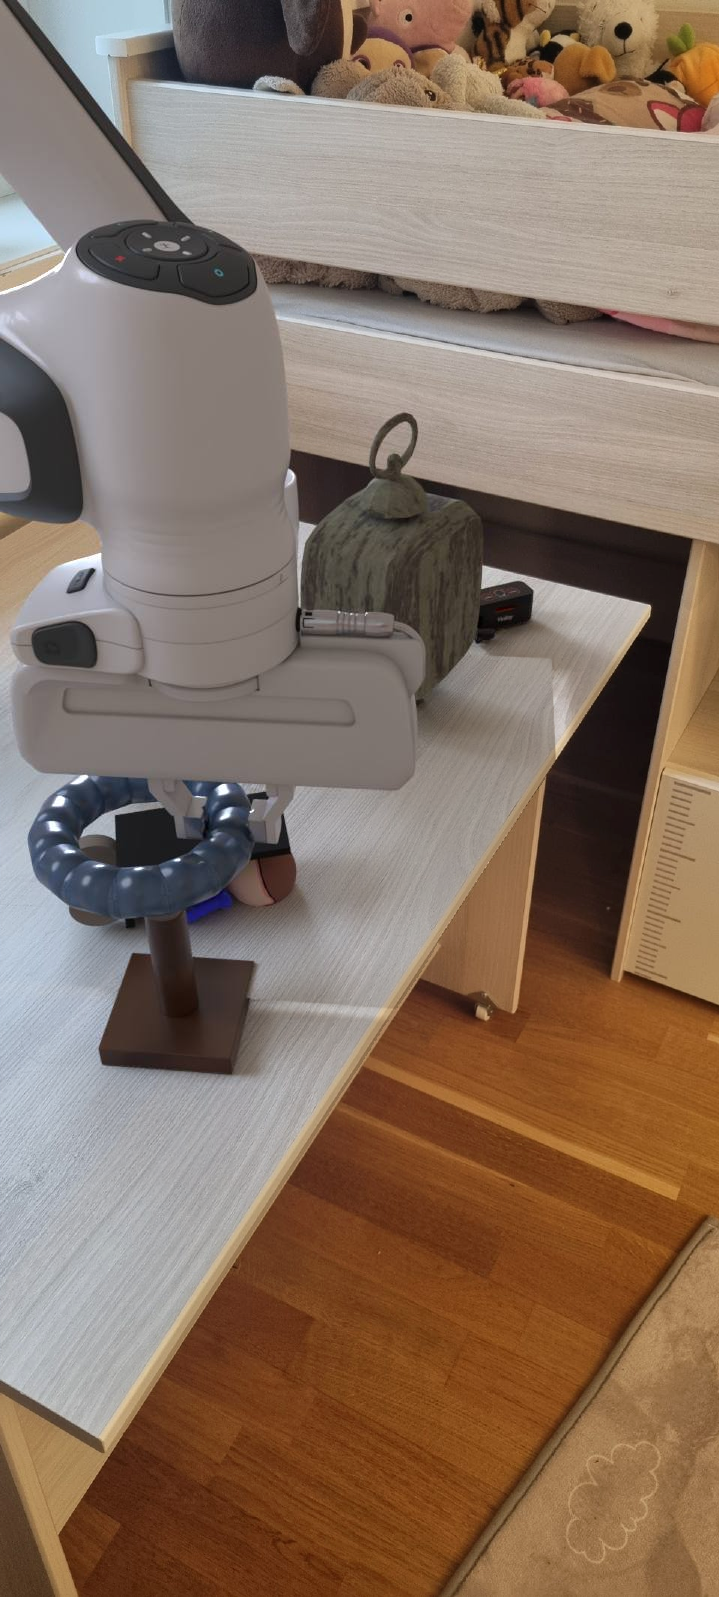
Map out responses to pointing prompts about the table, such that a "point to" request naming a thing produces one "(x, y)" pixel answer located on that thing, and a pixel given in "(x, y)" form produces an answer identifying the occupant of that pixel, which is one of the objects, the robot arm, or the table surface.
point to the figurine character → (156, 842)
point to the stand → (177, 1005)
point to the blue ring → (145, 885)
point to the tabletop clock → (401, 560)
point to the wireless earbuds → (503, 608)
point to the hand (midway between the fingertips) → (229, 834)
